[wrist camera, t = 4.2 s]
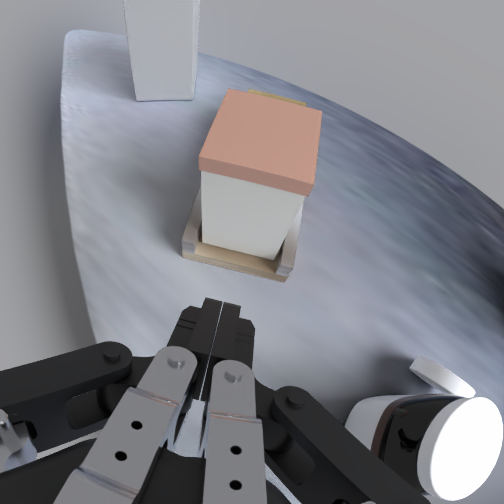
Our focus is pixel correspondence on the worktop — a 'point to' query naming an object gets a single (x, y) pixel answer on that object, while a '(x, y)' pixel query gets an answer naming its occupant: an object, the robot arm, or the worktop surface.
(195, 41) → the milk carton
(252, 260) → the track
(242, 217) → the pink-topped white box
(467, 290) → the worktop surface
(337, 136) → the worktop surface
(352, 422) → the spread jar
